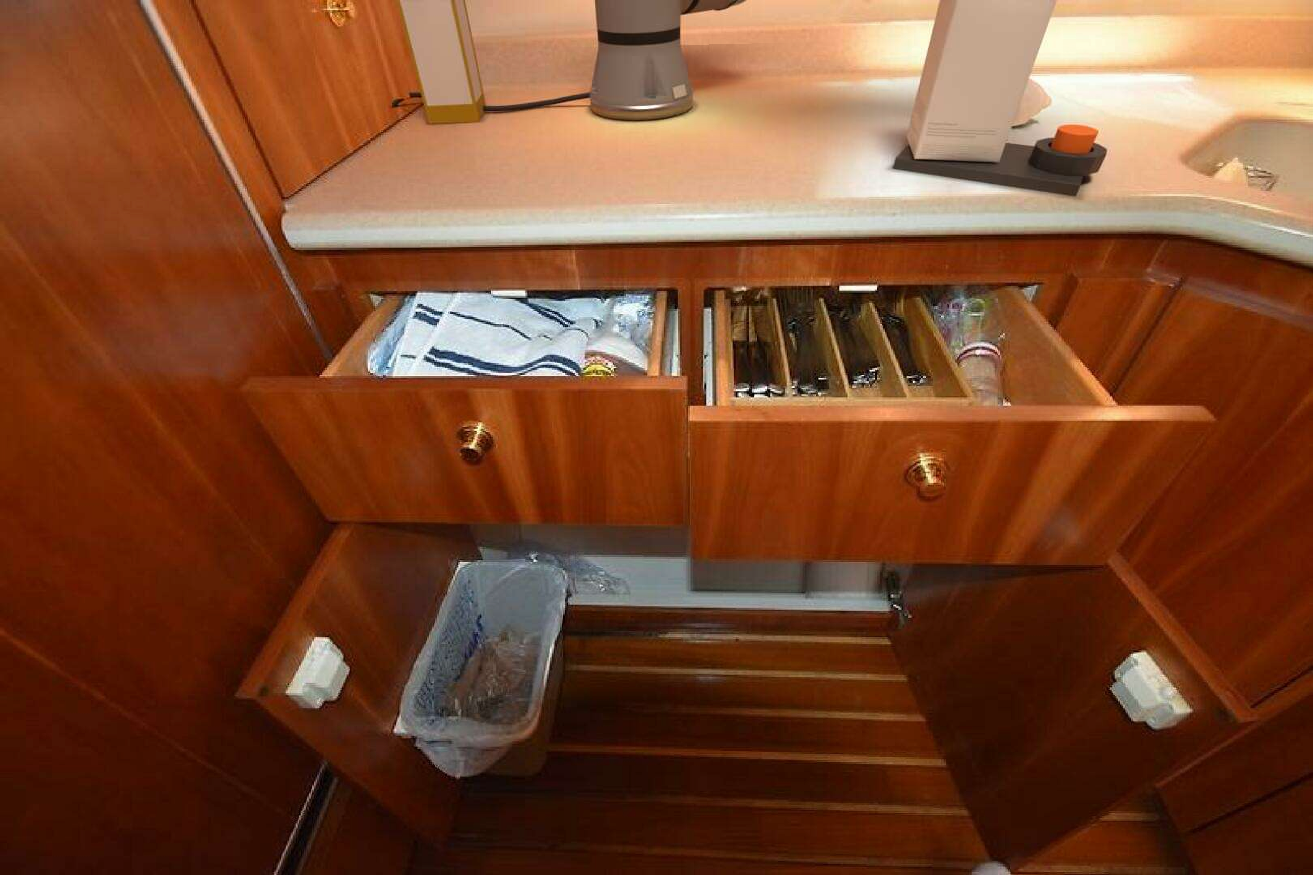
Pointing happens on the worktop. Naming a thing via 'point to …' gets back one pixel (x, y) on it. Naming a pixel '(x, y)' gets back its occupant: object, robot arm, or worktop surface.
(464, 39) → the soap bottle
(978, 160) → the rectangular carton
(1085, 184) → the worktop surface
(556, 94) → the worktop surface
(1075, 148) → the switch
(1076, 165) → the base
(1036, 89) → the garlic bulb
